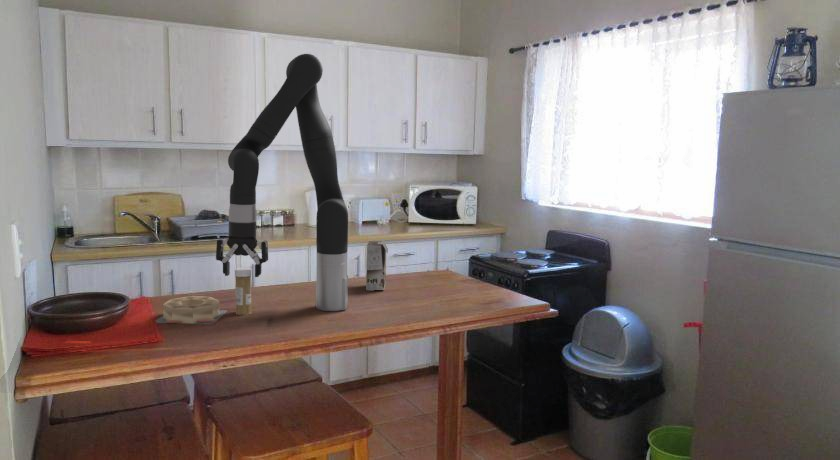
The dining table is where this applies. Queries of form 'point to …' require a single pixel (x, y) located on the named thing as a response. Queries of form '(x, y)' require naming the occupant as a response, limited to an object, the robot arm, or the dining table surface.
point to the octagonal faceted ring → (191, 309)
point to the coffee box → (376, 266)
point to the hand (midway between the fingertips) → (242, 276)
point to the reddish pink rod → (196, 321)
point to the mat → (221, 312)
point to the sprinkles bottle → (243, 291)
